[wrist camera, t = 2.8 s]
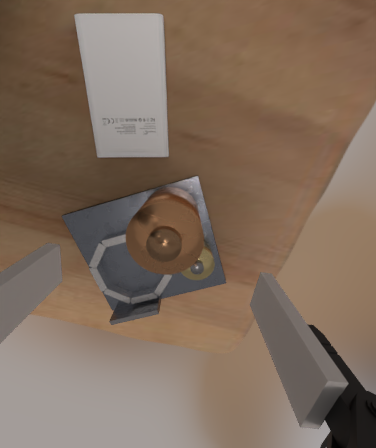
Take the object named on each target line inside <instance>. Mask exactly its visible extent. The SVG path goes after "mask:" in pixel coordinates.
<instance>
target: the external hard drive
mask: <svg viewBox="0 0 376 448" xmlns="http://www.w3.org/2000/svg"><path fill="white" fill-rule="evenodd" d="M74 17H75V23H76V29H77V35H78V41H79V47H80V53H81V59H82V65H83V72H84V78H85V84H86V90H87V97H88V102H89V108H90V115H91V121H92V127H93V133H94V139H95V145H96V152H97V157H98V158H106V157H169V147H168V118H167V89H166V63H165V36H164V18H163V15H162V14H157V13H120V14H119V13H115V14H112V13H101V14H100V13H95V14H93V13H82V14H75V15H74Z"/></svg>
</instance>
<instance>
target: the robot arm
mask: <svg viewBox="0 0 376 448" xmlns="http://www.w3.org/2000/svg"><path fill="white" fill-rule="evenodd" d="M61 282H62V269H61V255H60V245H59V244H52V243H46V244H45V245H43V246H42V247H40V248H39V249H37V250H35V251H34V252H32V253H31V254H29V255H27V256H26V257H24V258H23V259H21V260H19V261H18V262H16V263H15V264H13V265H12V266H10V267H8V268H7V269H5V270H4V271H2V272H0V343H1V342H2V341H3V340H4V339H5V338H6V337H7V336H8V335H9V334H10V333H11V332H12V331H13V330H14V329H15V328H16V327H17V326H18V325H19V324H20V323H21V322H22V321H23V320H24V319H25V318H26V317H27V316H28V315H29V314H30V313H31V312H32V311H33V310H34V309H35V308H36V307H37V306H38V305H39V304H40V303H41V302H42V301H43V300H44V299H45V298H46V297H47V296H48V295H49V294H50V293H51V292H52V291H53V290H54V289H55V288H56V287H57V286H58V285H59V284H60V283H61ZM250 307H251V309H252V311H253V314H254V316H255V319H256V321H257V323H258V326H259V328H260V331H261V333H262V335H263V338H264V340H265V343H266V345H267V348H268V350H269V352H270V355H271V357H272V360H273V362H274V365H275V367H276V370H277V372H278V374H279V377H280V379H281V382H282V384H283V387H284V389H285V391H286V394H287V396H288V399H289V401H290V403H291V406H292V408H293V411H294V413H295V416H296V418H297V420H298V423H299V425H300V427H302V428H313V429H319V428H320V426H321V425H322V423H323V422H324V420H325V421H326V423H327V425H328V426H329V428H330V430H331V431H330V433H329V434H328V436H327V437H326V439H325V440H324V442H323V443H322V445H321V447H320V448H326V447H327V448H376V395H375V394H373V393H371V392H369V391H366V390H365V389H364V387H363V386H362V385H361V384H360V382H359V381H358V380H357V378H356V377H355V375H354V374H353V373H352V372H351V370H350V369H349V368H348V366H347V365H346V364H345V362H344V361H343V360H342V358H341V357H340V356H339V355H338V354H337V352H336V350H335V349H334V348H333V346H331V344H330V342H329V341H328V340H327V338H326V337H325V336H324V335H323V334H322V333H321V332H320V331H319V330H318V329H317V328H316V327H315V326H314V325H308V324H307V323H306V322H305V320H304V319H303V318H302V316H301V315H300V313H299V312H298V311H297V309H296V308H295V306H294V305H293V303H292V302H291V301H290V299H289V298H288V296H287V295H286V294H285V292H284V291H283V289H282V288H281V287H280V285H279V284H278V282H277V281H276V279H275V278H274V276H273V275H272V274H270V273H262V272H260V276H259V279H258V282H257V285H256V288H255V291H254V294H253V297H252V300H251V303H250Z"/></svg>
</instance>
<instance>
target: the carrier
mask: <svg viewBox="0 0 376 448" xmlns="http://www.w3.org/2000/svg"><path fill="white" fill-rule="evenodd" d="M165 187H176V188H180V189H182V190H184V191H186V192H188V193H189V194H190V195H191V196H192V197H193V198H194V200H195V201H196V203H197V206H198V210H199V215H200V219H201V224H202V229H203V234H204V247H203V251H202V253H201V255H200V257H199V259H198V260H197V261H196V262H195V263H194V264H193V265H192V266H191V267H190V268H188V269H186V270H184V271H182V272H179V273H176V274H169V275H164V274H157V273H153V272H150V271H148V270H146V269H144V268H143V267H141V266H140V265H139V264H137V263H136V262H135V261H134V259H133V258H132V257H131V255H130V253H129V251H128V249H127V245H126V238H125V237H126V230H127V227H128V224H129V222H130V220H131V219H132V218H133V216H134V215H135V214H136V213H137V211H138V210H139V209H140V208H141V207H142V205H143V204H144V203H145V202H146V200H147V199H148V198H149V197H150V196H151V195H152V194H153V193H154V192H155V191H157V190H159V189H162V188H165ZM62 218H63V220H64V221H65V223H66V225H67V227H68V229H69V231H70V233H71V234H72V236H73V238H74V240H75V242H76V244H77V246H78V247H79V249H80V251H81V253H82V255H83V257H84V259H85V260H86V262H87V264H88V266H89V270H90V271H91V273H92V275H93V277H94V279H95V281H96V283H97V284H98V286H99V288H100V290H101V291H102V292H103V294H104V296H105V297H106V299H107V301H108V303H109V305H110V307H111V309H112V310H114V312H113V314H112V317H111V319H110V321H109V322H110V323H111V325H113V324H118V323H122V322H126V321H130V320H135V319H139V318H143V317H148V316H152V315H156V314H159V310H160V304H161V299H162V298H166V297H171V296H175V295H179V294H183V293H187V292H191V291H195V290H200V289H204V288H208V287H212V286H216V285H220V284H224V283H226V281H225V277H224V273H223V269H222V266H221V262H220V258H219V254H218V250H217V247H216V243H215V239H214V235H213V231H212V228H211V224H210V220H209V216H208V212H207V209H206V205H205V201H204V197H203V193H202V190H201V186H200V182H199V178H198V176H194V177H191V178H188V179H184V180H181V181H177V182H174V183H171V184H167V185H164V186H160V187H157V188H154V189H150V190H147V191H143V192H140V193H137V194H133V195H130V196H126V197H123V198H120V199H116V200H113V201H109V202H106V203H103V204H99V205H96V206H92V207H89V208H86V209H82V210H79V211H75V212H72V213H69V214H65V215H63V216H62Z"/></svg>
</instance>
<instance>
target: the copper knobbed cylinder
mask: <svg viewBox="0 0 376 448" xmlns="http://www.w3.org/2000/svg"><path fill="white" fill-rule="evenodd" d="M125 238H126V245H127V249H128V251H129V253H130V255H131V257H132V258H133V259H134V261H135V262H136V263H137V264H139V265H140V266H141V267H143V268H144V269H146V270H148V271H150V272H153V273H157V274H164V275H169V274H176V273H179V272H182V271H184V270H186V269H188V268H190V267H191V266H192V265H193V264H194V263H195V262H196V261H197V260H198V259H199V257H200V255H201V253H202V251H203V247H204V234H203V229H202V224H201V219H200V215H199V210H198V206H197V203H196V201H195V200H194V198H193V197H192V196H191V195H190V194H189V193H188V192H186V191H184V190H182V189H180V188H176V187H165V188H162V189H159V190H157V191H155V192H154V193H153V194H152V195H151V196H150V197H149V198H148V199H147V200H146V202H145V203H144V204H143V205H142V207H141V208H140V209H139V210H138V211H137V213H136V214H135V215H134V216H133V218H132V219H131V220H130V222H129V224H128V227H127V230H126V237H125Z"/></svg>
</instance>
